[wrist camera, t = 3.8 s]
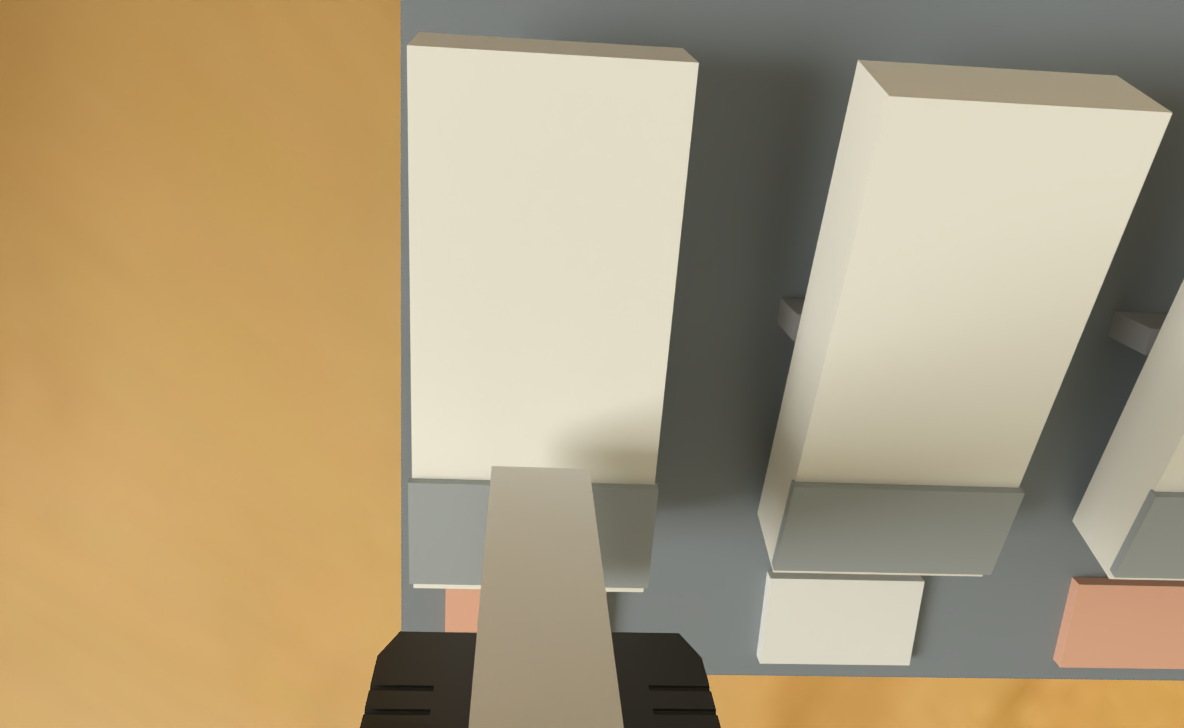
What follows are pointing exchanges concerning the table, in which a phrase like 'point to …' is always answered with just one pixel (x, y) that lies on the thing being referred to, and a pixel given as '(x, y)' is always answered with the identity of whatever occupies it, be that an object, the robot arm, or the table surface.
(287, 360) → the table surface
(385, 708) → the robot arm
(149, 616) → the table surface
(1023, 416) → the switch
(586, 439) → the switch
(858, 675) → the switch unit
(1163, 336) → the switch
